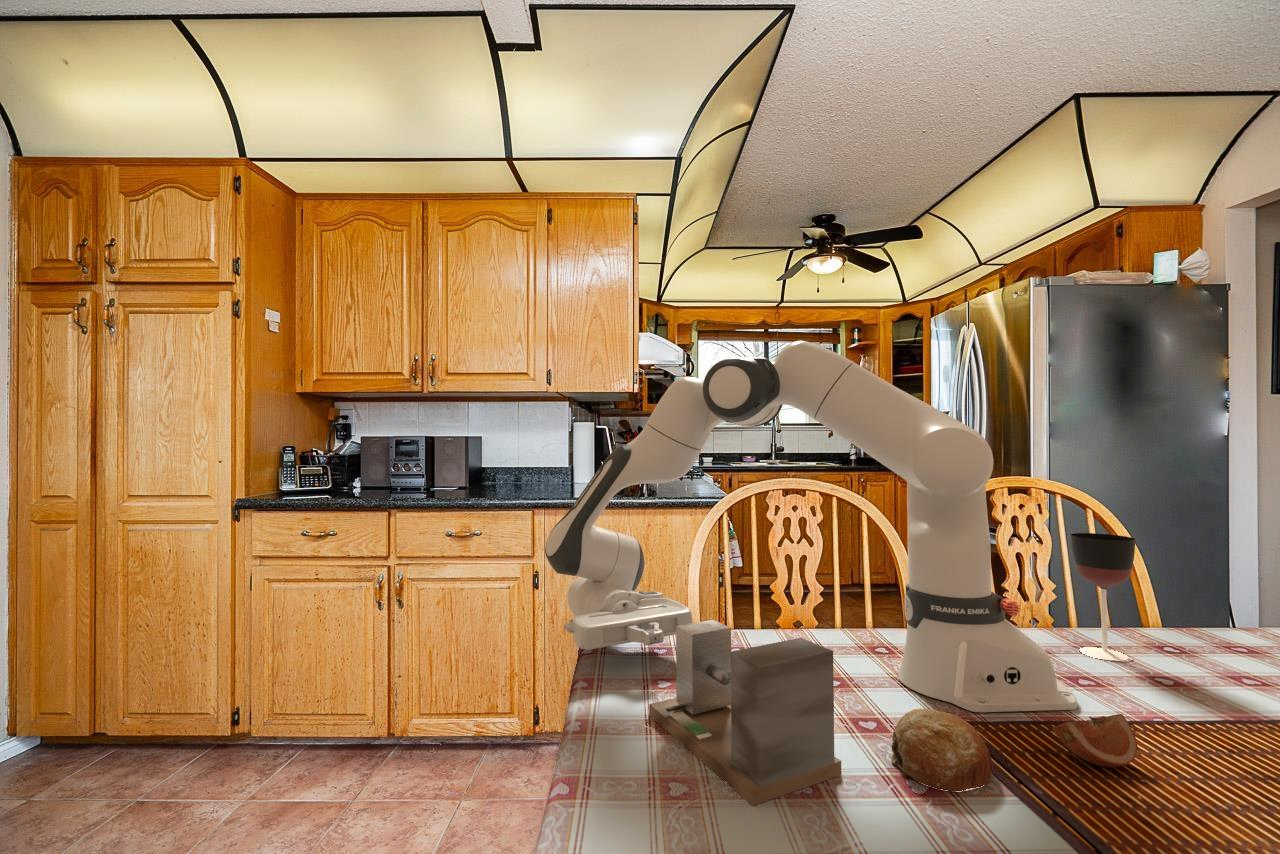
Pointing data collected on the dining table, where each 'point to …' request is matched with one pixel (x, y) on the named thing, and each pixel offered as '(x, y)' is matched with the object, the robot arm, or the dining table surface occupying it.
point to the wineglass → (1103, 574)
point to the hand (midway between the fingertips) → (655, 638)
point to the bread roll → (941, 751)
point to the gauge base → (766, 722)
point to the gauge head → (703, 666)
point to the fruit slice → (1100, 740)
